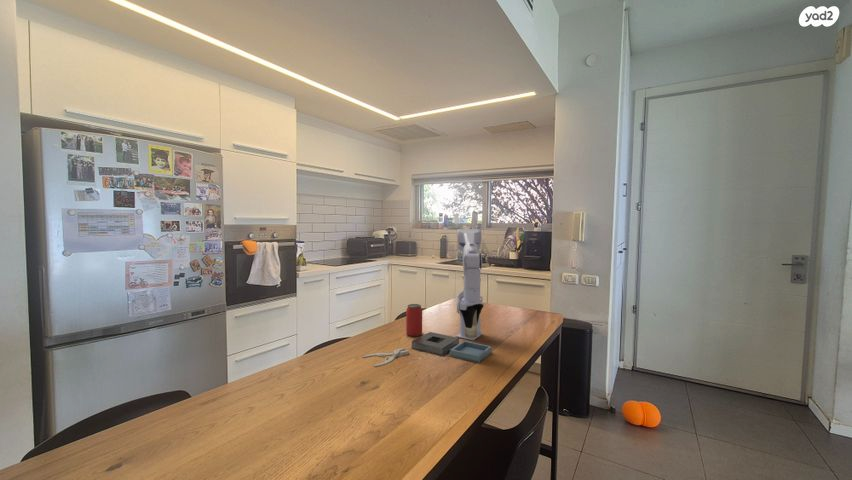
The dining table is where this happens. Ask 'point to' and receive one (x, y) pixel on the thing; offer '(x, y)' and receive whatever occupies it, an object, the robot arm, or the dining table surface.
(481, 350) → the slate tray
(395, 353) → the pliers
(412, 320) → the beer can
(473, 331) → the birch peg
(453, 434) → the dining table surface
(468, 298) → the robot arm
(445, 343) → the hitch block
